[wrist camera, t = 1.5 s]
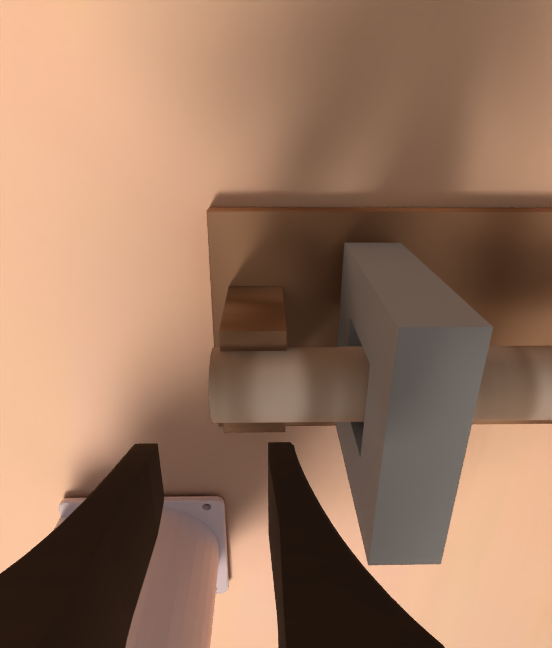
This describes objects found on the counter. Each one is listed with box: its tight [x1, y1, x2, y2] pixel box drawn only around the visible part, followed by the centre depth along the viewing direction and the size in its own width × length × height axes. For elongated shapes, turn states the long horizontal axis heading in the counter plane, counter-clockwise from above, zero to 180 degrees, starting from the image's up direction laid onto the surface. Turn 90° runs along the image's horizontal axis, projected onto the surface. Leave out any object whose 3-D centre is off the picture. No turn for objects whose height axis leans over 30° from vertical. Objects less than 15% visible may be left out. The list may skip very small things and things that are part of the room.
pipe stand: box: [207, 207, 552, 433], centre depth 19 cm, size 24×11×7 cm, turn 90°
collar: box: [335, 243, 493, 565], centre depth 17 cm, size 2×9×9 cm, turn 0°
